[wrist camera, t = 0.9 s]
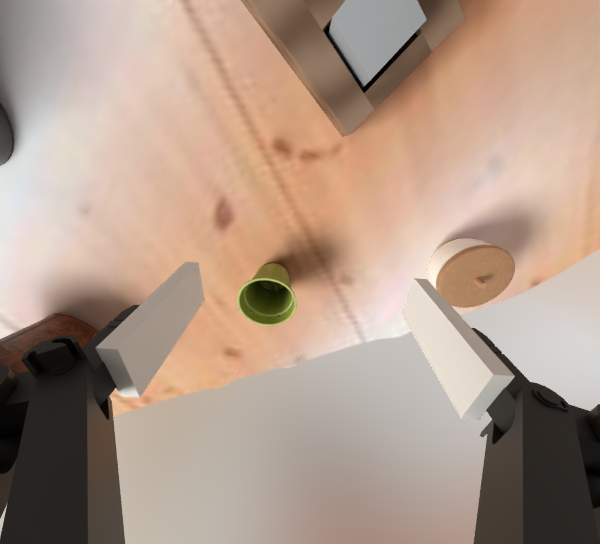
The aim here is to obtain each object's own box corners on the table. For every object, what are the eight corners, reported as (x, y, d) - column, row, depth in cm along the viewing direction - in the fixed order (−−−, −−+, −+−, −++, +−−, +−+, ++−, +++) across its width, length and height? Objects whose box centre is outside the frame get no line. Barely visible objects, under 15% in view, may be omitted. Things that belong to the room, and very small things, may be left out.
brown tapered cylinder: (12, 332, 52) (-112, 413, 36) (50, 287, 46) (-79, 362, 30) (88, 371, 59) (11, 454, 43) (130, 337, 53) (59, 419, 37)
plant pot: (262, 245, 40) (252, 268, 33) (307, 269, 43) (307, 295, 35) (241, 282, 44) (228, 311, 37) (283, 303, 47) (278, 333, 39)
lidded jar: (405, 261, 41) (429, 290, 33) (457, 216, 37) (500, 236, 29) (440, 292, 44) (470, 325, 36) (492, 253, 40) (539, 281, 32)
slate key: (328, 36, 24) (331, 17, 20) (375, -24, 22) (389, -57, 18) (362, 88, 26) (371, 79, 22) (408, 38, 24) (426, 19, 20)
